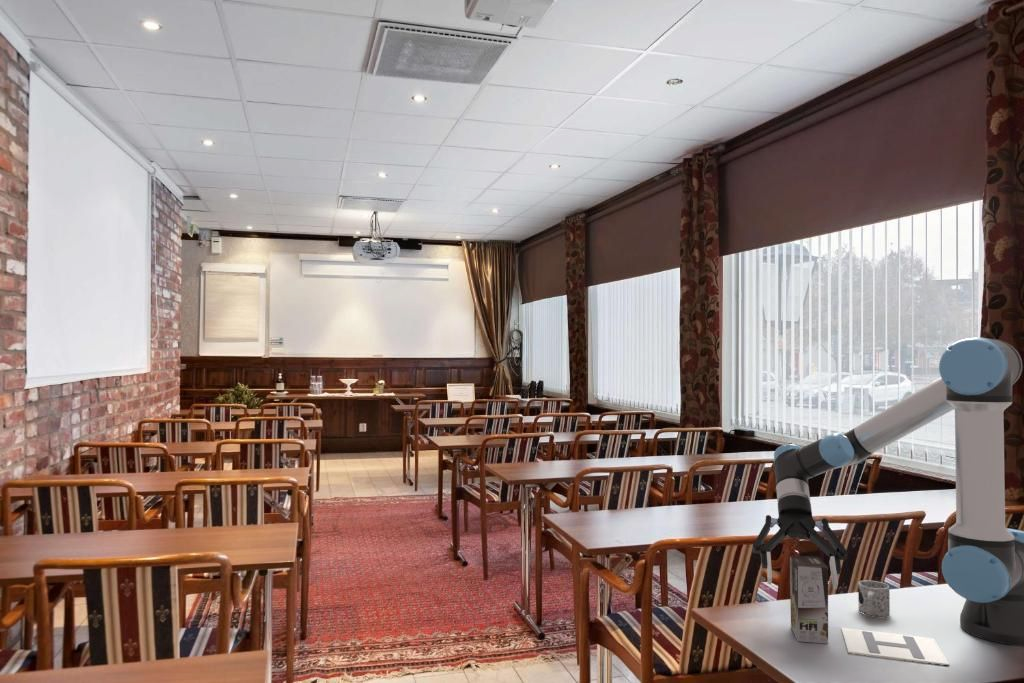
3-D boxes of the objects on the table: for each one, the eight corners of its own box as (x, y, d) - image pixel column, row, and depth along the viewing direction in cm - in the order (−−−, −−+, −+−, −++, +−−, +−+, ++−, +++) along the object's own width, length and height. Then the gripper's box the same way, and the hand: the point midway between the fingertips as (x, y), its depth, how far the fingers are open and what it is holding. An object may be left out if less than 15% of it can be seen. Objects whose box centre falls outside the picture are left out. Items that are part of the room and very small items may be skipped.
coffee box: (829, 644, 151) (829, 567, 152) (797, 642, 153) (796, 565, 153) (820, 628, 160) (819, 556, 161) (789, 626, 162) (789, 554, 162)
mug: (861, 606, 175) (860, 578, 176) (891, 611, 172) (891, 583, 172) (853, 617, 167) (853, 589, 167) (885, 624, 163) (885, 594, 164)
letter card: (933, 640, 154) (933, 637, 154) (949, 666, 141) (949, 663, 141) (841, 629, 160) (841, 627, 160) (848, 653, 147) (848, 651, 147)
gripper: (847, 514, 173) (861, 596, 158) (739, 508, 180) (742, 586, 165) (852, 496, 168) (866, 579, 153) (740, 490, 175) (744, 570, 160)
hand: (802, 583), depth 159 cm, fingers open, 13 cm apart
